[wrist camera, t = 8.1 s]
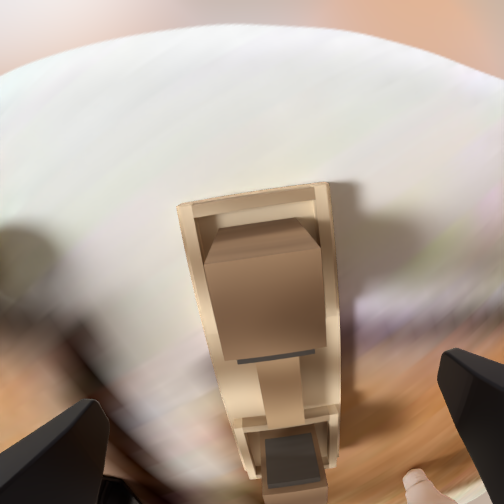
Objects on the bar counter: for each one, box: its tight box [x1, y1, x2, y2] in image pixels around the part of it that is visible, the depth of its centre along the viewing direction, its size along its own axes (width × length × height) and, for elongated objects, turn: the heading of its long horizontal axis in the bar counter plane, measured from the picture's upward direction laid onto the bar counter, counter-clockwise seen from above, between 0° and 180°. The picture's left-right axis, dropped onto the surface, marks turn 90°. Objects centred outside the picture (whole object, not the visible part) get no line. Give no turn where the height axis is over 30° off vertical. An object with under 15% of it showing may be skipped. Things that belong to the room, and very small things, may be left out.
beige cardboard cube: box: [204, 217, 327, 365], centre depth 14 cm, size 5×4×6 cm
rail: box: [176, 182, 341, 504], centre depth 17 cm, size 22×8×7 cm, turn 9°
